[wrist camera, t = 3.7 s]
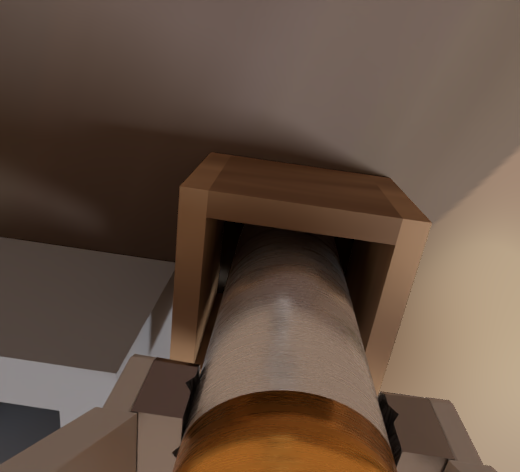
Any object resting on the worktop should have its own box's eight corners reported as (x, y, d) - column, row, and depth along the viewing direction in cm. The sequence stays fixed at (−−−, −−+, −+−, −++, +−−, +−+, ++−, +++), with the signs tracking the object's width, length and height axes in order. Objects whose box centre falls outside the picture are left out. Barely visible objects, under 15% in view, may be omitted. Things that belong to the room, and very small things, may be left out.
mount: (210, 152, 16) (179, 186, 11) (390, 178, 16) (431, 223, 11) (197, 305, 19) (168, 384, 14) (351, 328, 19) (372, 414, 14)
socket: (-26, 233, 18) (-202, 326, 11) (178, 263, 18) (116, 373, 11) (-3, 392, 21) (-128, 532, 15) (169, 417, 21) (117, 570, 15)
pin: (244, 194, 17) (157, 452, 5) (343, 208, 16) (456, 496, 5) (234, 281, 18) (149, 620, 7) (324, 294, 18) (383, 656, 7)
